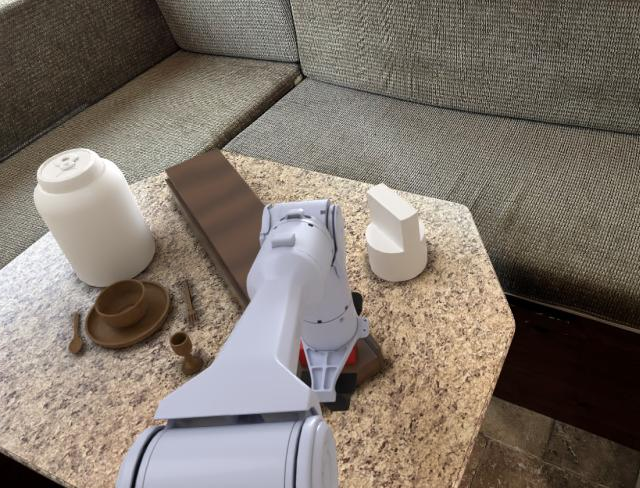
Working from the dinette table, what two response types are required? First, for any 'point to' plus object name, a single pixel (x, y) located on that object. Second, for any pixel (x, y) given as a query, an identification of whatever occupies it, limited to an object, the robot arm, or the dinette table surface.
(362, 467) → the dinette table surface
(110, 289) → the place setting
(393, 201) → the base with upright slab
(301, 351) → the red rectangular block
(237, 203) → the long wooden plank
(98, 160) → the can
